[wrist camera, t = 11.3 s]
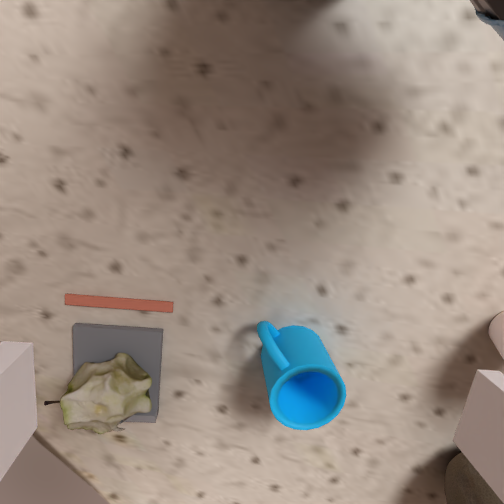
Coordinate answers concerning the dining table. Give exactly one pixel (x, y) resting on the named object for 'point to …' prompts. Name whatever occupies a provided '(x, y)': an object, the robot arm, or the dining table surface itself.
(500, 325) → the mug
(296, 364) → the mug
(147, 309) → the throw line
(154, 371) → the mat
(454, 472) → the dark grey round stone
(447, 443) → the dining table surface
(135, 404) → the fruit
